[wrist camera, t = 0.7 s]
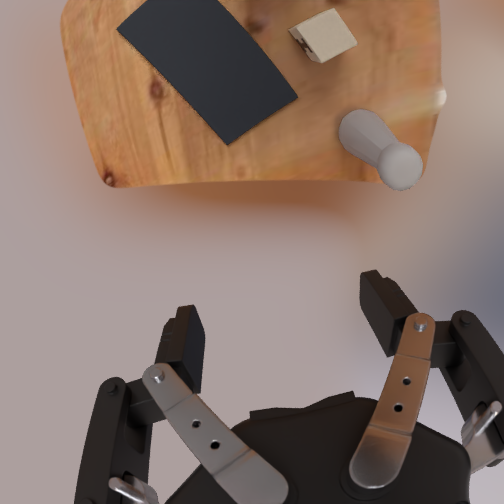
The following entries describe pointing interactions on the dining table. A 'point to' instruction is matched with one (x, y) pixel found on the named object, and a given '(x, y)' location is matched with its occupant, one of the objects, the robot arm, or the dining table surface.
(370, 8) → the dining table surface
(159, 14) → the word mat
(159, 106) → the dining table surface
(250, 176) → the dining table surface
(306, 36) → the beige cube block
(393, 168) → the salt shaker
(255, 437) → the robot arm
